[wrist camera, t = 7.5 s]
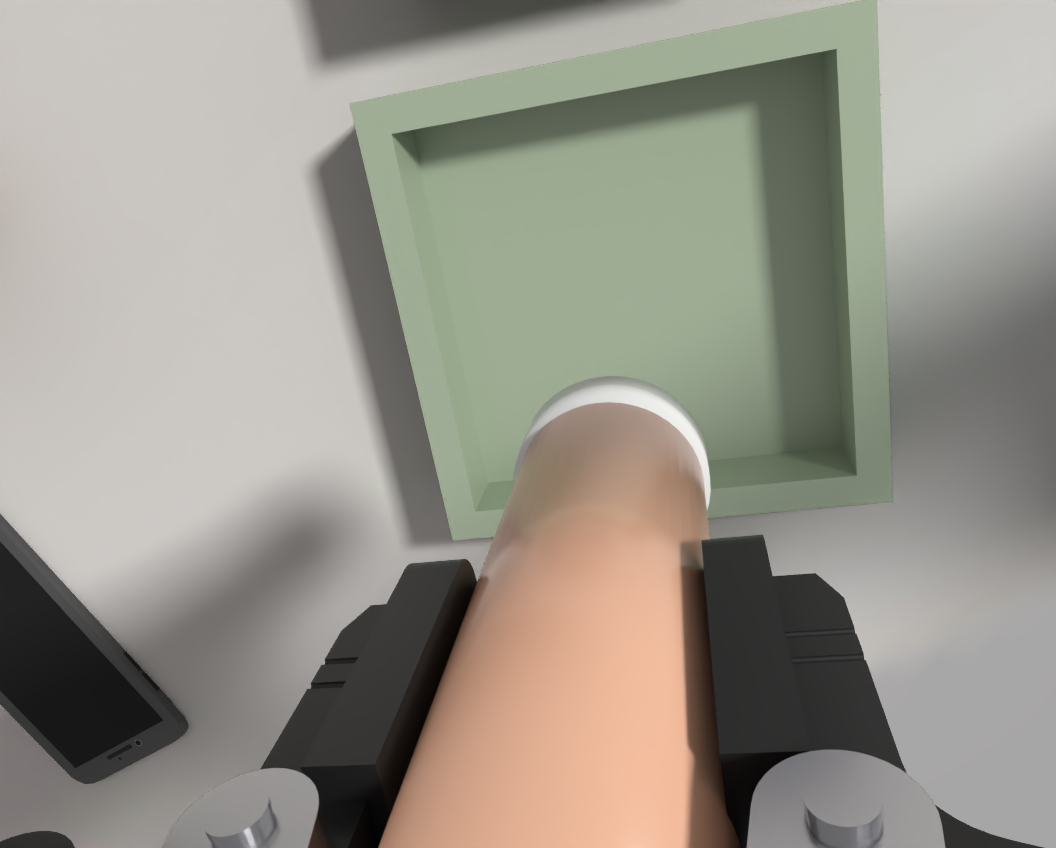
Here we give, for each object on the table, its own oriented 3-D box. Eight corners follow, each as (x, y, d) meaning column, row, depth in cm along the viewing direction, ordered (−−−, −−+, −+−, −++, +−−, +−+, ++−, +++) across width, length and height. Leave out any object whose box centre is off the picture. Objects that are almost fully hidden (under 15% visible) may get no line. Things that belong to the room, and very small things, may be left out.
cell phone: (-20, 480, 35) (-34, 488, 34) (200, 722, 38) (191, 734, 37) (-122, 557, 37) (-137, 566, 36) (93, 779, 40) (83, 791, 40)
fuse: (696, 364, 14) (791, 1122, 4) (716, 536, 15) (829, 1482, 5) (507, 388, 14) (148, 1091, 4) (539, 551, 16) (312, 1414, 5)
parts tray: (852, 7, 24) (877, -3, 21) (870, 461, 28) (892, 501, 26) (381, 101, 26) (349, 103, 24) (471, 500, 31) (452, 540, 29)
